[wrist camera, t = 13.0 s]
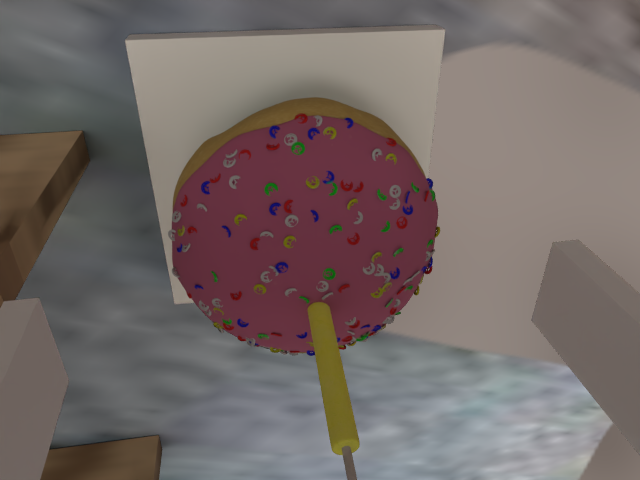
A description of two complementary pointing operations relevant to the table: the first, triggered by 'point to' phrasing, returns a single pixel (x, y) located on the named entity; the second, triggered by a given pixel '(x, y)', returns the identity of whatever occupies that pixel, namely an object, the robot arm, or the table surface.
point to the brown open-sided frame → (21, 254)
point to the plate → (275, 89)
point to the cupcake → (305, 236)
